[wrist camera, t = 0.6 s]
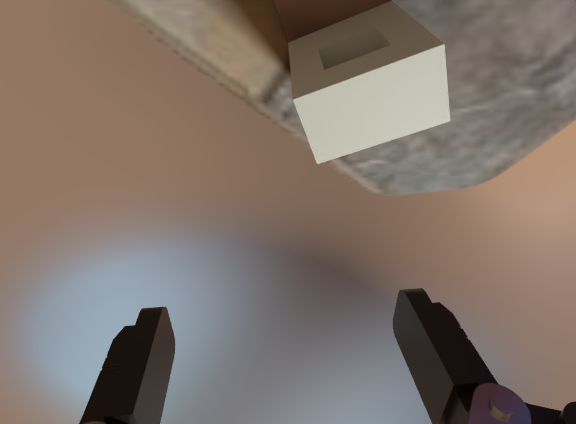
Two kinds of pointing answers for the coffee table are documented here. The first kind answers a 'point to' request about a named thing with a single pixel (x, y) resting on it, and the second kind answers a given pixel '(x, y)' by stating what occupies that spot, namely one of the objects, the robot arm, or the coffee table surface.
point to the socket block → (368, 81)
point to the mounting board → (318, 14)
